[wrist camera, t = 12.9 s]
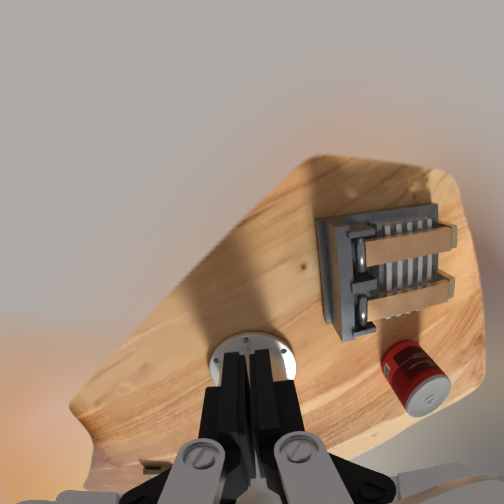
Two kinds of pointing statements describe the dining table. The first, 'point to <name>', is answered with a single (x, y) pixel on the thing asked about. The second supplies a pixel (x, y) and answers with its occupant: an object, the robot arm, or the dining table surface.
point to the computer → (154, 471)
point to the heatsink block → (378, 276)
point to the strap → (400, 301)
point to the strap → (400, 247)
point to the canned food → (415, 378)
